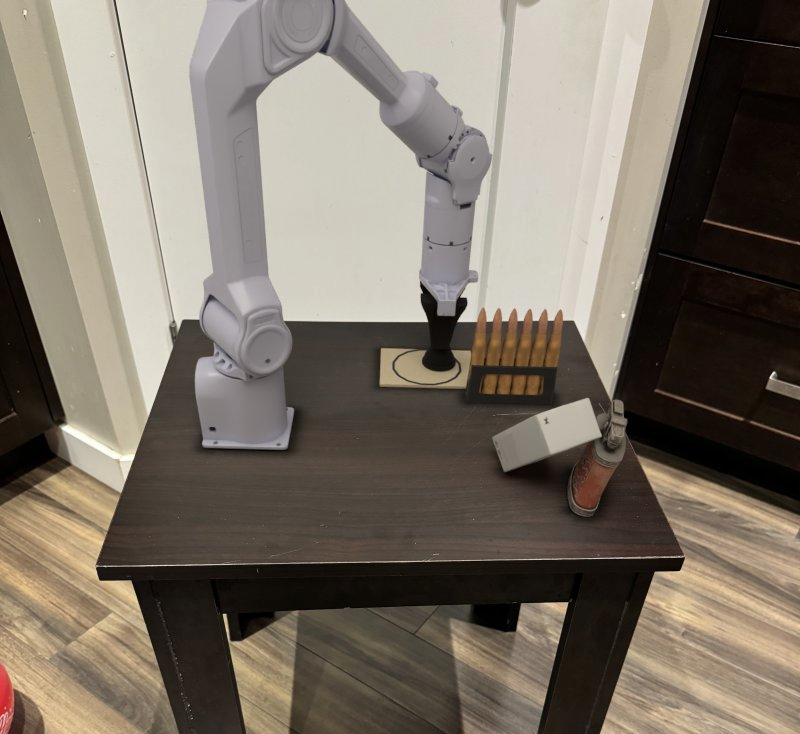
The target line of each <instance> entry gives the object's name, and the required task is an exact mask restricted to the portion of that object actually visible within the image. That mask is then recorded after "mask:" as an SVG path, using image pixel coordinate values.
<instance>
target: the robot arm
mask: <svg viewBox="0 0 800 734" xmlns="http://www.w3.org/2000/svg"><path fill="white" fill-rule="evenodd" d="M317 53H318V54H320V55H323V56H326V57H329V58H331V59H332V60H333V61H334V62H335V63H336V64H337V65H338V66H340V68H342V69H343V70H344V71H345V72H346V73H347V74H349V75H350V76H351V77H352V78H353V79H354V80H355V81H356V82H357V83H358V84H359V85H361V86H362V87H363V88H364V89H365V90H366V91H368V93H370V94H371V95H372V96H373V97H374V98H376V100H378V101H379V103H378V104H379V105H378V114H379V118H380V121H381V122H382V123H383V125H384V126H385V127H386V128H387V129H388V130H389V131H390V132H392V134H393V135H395V137H397V138H398V139H399V141H401V142H402V143H403V144H404V145H405V146H406V147H407V148H408V149H409V150H410V151H411V152H412V153H413V154H414V156H415V160H416V163H417V165H418V167H419V168H420V169H421V168H422V169H424V170H425V171H426V172H425V187H424V188H425V189H424V205H423V223H422V224H423V225H422V244H421V260H420V261H421V264H420V269H419V270H418V280H419V288H420V290H421V292H420V305H421V307H422V310H423V312H424V313H425V316H426V320H427V325H428V332H429V341H430V345H431V346H432V349H448V347H449V346H451V343H452V339H453V336H454V333H455V329H456V326H457V324H458V322H459V320H460V318H461V317H462V315H463V314H464V312H465V311H466V309H467V307H468V303H469V301H468V297H462V295H463V293H464V291H465V290H466V288H467V286H468V285H469V284H471V283H474V284H475V283H478V282H479V273H478V271H477V270H473V269H470V263H471V252H472V244H473V243H472V242H473V232H474V222H475V214H476V213H475V212H476V201H477V200H478V198H479V195H481V189H482V182H483V180H484V178H486V177H485V176H486V175H487V173H488V171H490V168H491V165H492V161H493V153H490V147H489V144H488V141H487V138H486V135H485V134H484V133H483V131H481V130H480V129H478V128H476V127H473V126H471V125H468V124H466V123H465V121H464V119H463V114H464V113H463V111H462V110H461V109H460V107H459V106H456V105H453V104H450V103H449V102H448V101H447V99H445V97H444V96H443V95H442V94H441V93H440V92H439V90H438V89H437V87H438V86H439V81H438V80H437V78H436V77H435V76H434V75H433V74H431V73H427V72H425V71H422V72H420V71H418V70H406V71H402V70H401V68H400V67H399V66H398V65H397V63H396V62H395V61H394V60H393V58H391V56H390V55H389V53H387V51H386V50H385V49H384V47H382V45H381V44H380V43H379V42H378V41H377V39H376V38H375V37H374V35H373V34H372V33H371V32H370V31H369V29H367V27H366V26H365V25H364V24H363V22H362V20H360V19H359V18H358V16H357V15H356V14H355V13H354V12H353V10H352V9H351V8H350V6H349V4H347V2H346V0H206V8H205V11H204V15H203V19H202V22H201V25H200V28H199V30H198V34H197V38H196V41H195V44H194V48H193V51H192V54H191V58H190V61H189V67H188V68H189V69H188V75H189V76H188V77H189V86H190V93H191V94H190V95H191V101H192V109H193V118H194V127H195V134H196V142H197V151H198V159H199V169H200V175H201V176H200V177H201V183H202V184H201V185H202V191H203V192H202V193H203V201H204V209H205V216H206V217H205V218H206V225H207V235H208V241H209V250H210V257H211V258H210V259H211V266H212V273H211V274H210V275H208V276H207V277H205V279H203V282H202V285H203V300H202V303H201V306H200V309H199V315H198V321H199V325H200V329H201V331H202V332H203V334H204V335H205V336H206V337H207V338H208V339H210V340H211V341H212V342H213V349H214V350H213V355H211V356H203V357H200V358H198V360H197V362H196V366H195V371H194V372H195V373H194V392H195V400H196V405H197V411H198V417H199V423H200V429H201V435H202V443H201V446H202V447H203V448H205V449H229V450H230V449H234V450H235V449H237V450H271V451H272V450H275V451H286V450H287V449H288V448H289V443H290V437H291V433H292V427H293V421H294V415H295V408H293V407H290V406H287V400H286V386H285V375H284V365H285V364H286V363H287V362H288V360H289V358H290V356H291V353H292V350H293V335H292V333H291V330H290V329H289V327H288V325H287V324H286V322H285V320H284V316H283V305H282V303H281V299H280V297H279V295H278V294H277V291H276V289H275V287H274V285H273V283H272V281H271V278H270V275H269V262H268V250H267V249H268V248H267V236H266V235H267V234H266V221H265V220H266V219H265V208H264V207H265V206H264V194H263V193H264V192H263V180H262V178H263V177H262V167H261V166H262V164H261V150H260V135H259V122H258V108H257V101H258V99H259V97H260V96H261V95H262V94H263V92H264V91H265V90H266V89H267V88H268V87H269V86H270V84H271V83H272V82H273V81H274V80H276V79H278V78H279V77H281V76H282V75H284V74H286V73H288V72H289V71H291V70H293V69H294V68H296V67H297V66H299V65H301V64H302V63H304V62H306V61H308V60H309V59H311V58H312V57H314V56H315V55H316V54H317Z"/></svg>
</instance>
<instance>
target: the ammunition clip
mask: <svg viewBox="0 0 800 734" xmlns="http://www.w3.org/2000/svg"><path fill="white" fill-rule="evenodd" d="M517 311H518V310H517V309H516V307H515V308H513V309H512V310H511V312H510V315H509V317H508V321H507V325H506V330H505V336H504V338H503V342H502V330H503V329H502V328H503V315H502V314H503V313H502V309H501V308H500V307H497V309H496V311H495V312H494V316H493V318H492V322H491V328H490V331H489V332H490V333H489V337H488V340H487V325H488V324H487V323H488V322H487V318H488V317H487V311H486V309H485V307H481V309H480V311H479V314H478V317H477V320H476V324H475V330H474V337H473V339H472V344H471V360H470V367H469V373H468V379H467V385H466V389H465V392H464V397H465V402H466V403H475V404H476V403H481V404H484V403H485V404H527V405H528V404H529V405H530V404H531V405H532V404H533V405H551V404H553V403H554V396H555V388H556V382H557V375H558V364H559V359H560V353H561V348H562V336H563V335H562V334H563V328H564V327H563V325H564V314H563V313H564V312H563V310H562V309H559V310H558V311H557V313H556V315H555V317H554V319H553V321H552V322H553V323H552V325H551V331H550V334H549V337H548V340H547V336H548V335H547V334H548V333H547V332H548V325H549V324H548V323H549V316H548V310H547V308H544V309H543V310H542V312H541V314H540V316H539V319H538V322H537V325H536V331H535V335H534V338H533V340H532V335H533V324H534V317H533V312H532V311H533V310H532V308H528V310H527V312H526V313H525V315H524V318H523V321H522V326H521V330H520V335H519V338H518V341H517V335H518V325H519V324H518V321H519V319H518V312H517Z"/></svg>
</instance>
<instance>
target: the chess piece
mask: <svg viewBox="0 0 800 734" xmlns="http://www.w3.org/2000/svg"><path fill="white" fill-rule="evenodd" d="M427 349H428V350H427V351H426V352H425V355H424V356H423V358H422V364H423V366H425V367H426V368H427V369H430V370H433V371H447V370H450V369H452V368H453V367H454V366H455V364H456V360H455V358H454V354H453V352H452V351H451V350H452V349H451V345H449V347H448V349H432V346H431V344H430V345H429V346H428V348H427Z"/></svg>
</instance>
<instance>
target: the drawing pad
mask: <svg viewBox="0 0 800 734" xmlns="http://www.w3.org/2000/svg"><path fill="white" fill-rule="evenodd" d="M427 350H428V348H392V347H391V348H389V347H386V348H385V347H381V348H380V365H379V366H380V369H379V387H380V388H382V387H383V388H385V387H386V388H414V389H415V388H417V389H447V390H449V389H450V390H451V389H452V390H453V389H454V390H466V385H467V379H468V373H469V367H470V360H471V352H472V350H462V349H461V350H455V349H451V351H452V352H453V354H454V358H455V360H456V364H455V366H454V367H453V368H452V369H450V370H447V371H433V370H430V369H427V368H426V367H425V366H423V364H422V358H423V356H424V355H425V352H426V351H427Z"/></svg>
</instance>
